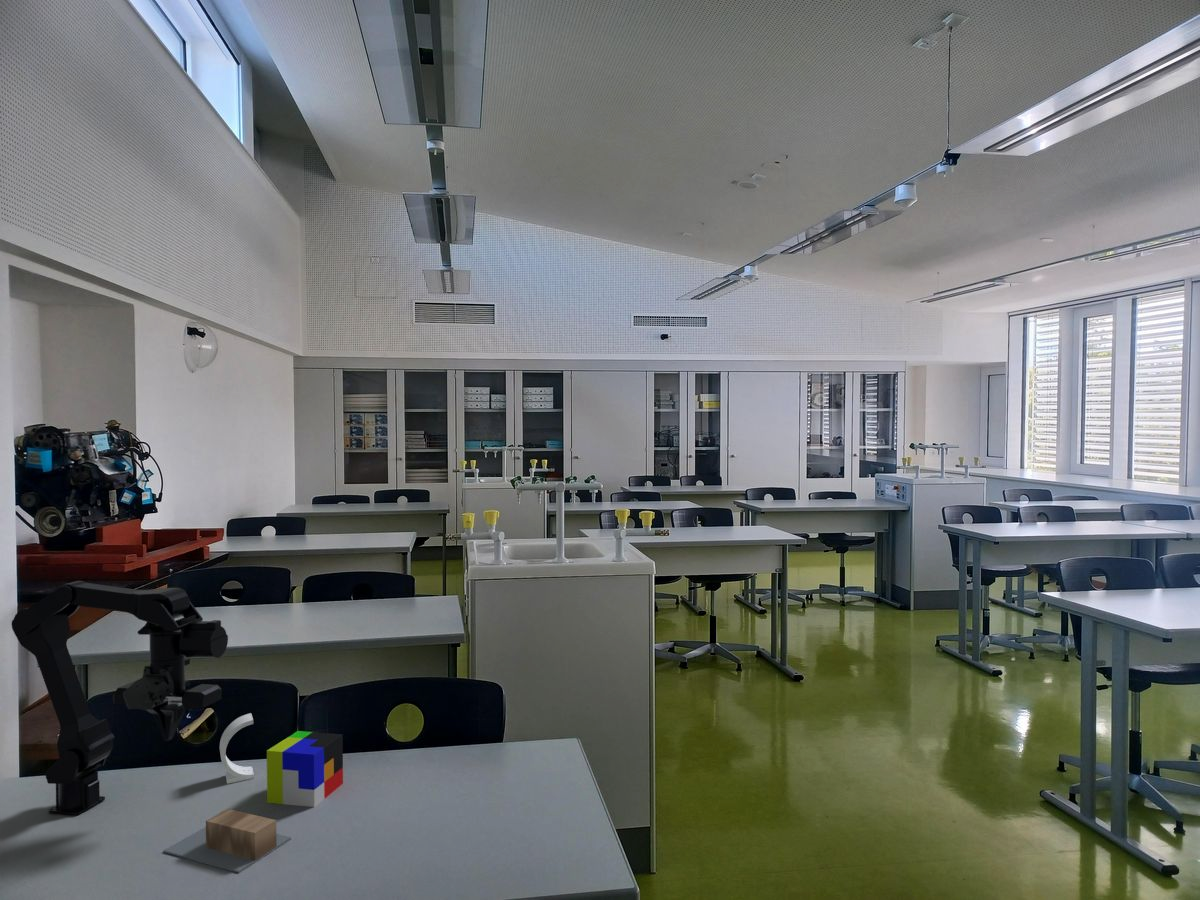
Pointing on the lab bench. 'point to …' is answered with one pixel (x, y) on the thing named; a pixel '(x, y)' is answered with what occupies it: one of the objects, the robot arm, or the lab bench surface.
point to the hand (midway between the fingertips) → (168, 739)
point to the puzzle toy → (304, 768)
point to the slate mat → (214, 852)
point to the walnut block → (241, 834)
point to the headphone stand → (232, 770)
